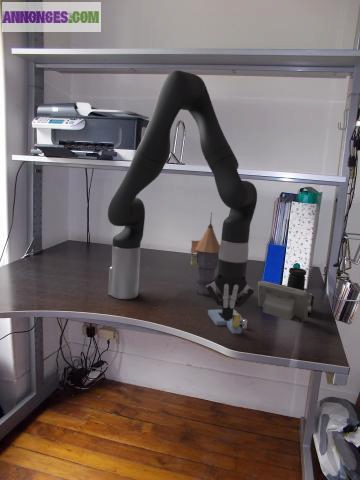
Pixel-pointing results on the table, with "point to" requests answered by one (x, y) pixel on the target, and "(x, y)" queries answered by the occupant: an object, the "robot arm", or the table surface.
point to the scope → (300, 284)
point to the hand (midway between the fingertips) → (226, 319)
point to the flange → (231, 324)
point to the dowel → (244, 324)
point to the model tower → (205, 259)
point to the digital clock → (283, 301)
